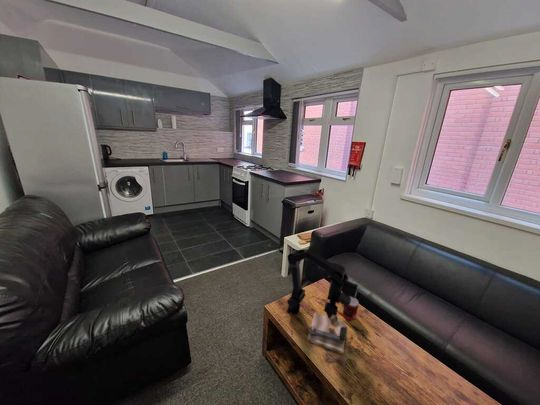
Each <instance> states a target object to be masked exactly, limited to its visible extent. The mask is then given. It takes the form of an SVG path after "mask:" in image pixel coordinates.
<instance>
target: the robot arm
mask: <svg viewBox="0 0 540 405" xmlns="http://www.w3.org/2000/svg"><path fill="white" fill-rule="evenodd" d="M302 260H308V261H309V262H311V263H313V264H314V265H316V266H318V267H319V268H321V269H323V270H324V271H325V272H326V273H327V274H328V276H327V278H326V279H327V280H329V281H330V284H329V289H328V293H327V294H328V295H327V300H329V302H325V305H324V309H323V311H324V312H325V313H326V316H327V317H328V318H331V316H332V315H337V314H338V309H339V307H338V306H337V304H341V305H342V306H343V307H344V306H345V307H348V305H349V304H350V303H351V298H350V297H353V298H356V296H357V294H358V291H359V290H358V288H359V287H358V286H359V285H358V284H357V283H353V282H351V281H348V280H349V276H348V274H347V272H346V267H344V266H343V265H341V264H339V263H336V262H330V261H329V260H327V259H326V258H324V257H323V256H320V255H319V254H317V253H315V252H314V251H312V249H310V248H305V249H294V250H292V251H291V252H290V253H289V254H288V255H287V262H288V264H289V266H290V267H291V269H290V270H291V277H292V291H291V294H290V296H289V298H288V300H286V303H287V305H288V307H287V311H286V312H287V313H290V314H292V315H296V316H297V315H298V314H299V312H300V311H301V302H302V301H303V300H304V298H305V297H306V290H305V289H303V287H302V281H301V280H302V279H301V269H300V268H301V267H300V266H301V262H302ZM349 296H350V297H349ZM337 316H338V315H337Z"/></svg>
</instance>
